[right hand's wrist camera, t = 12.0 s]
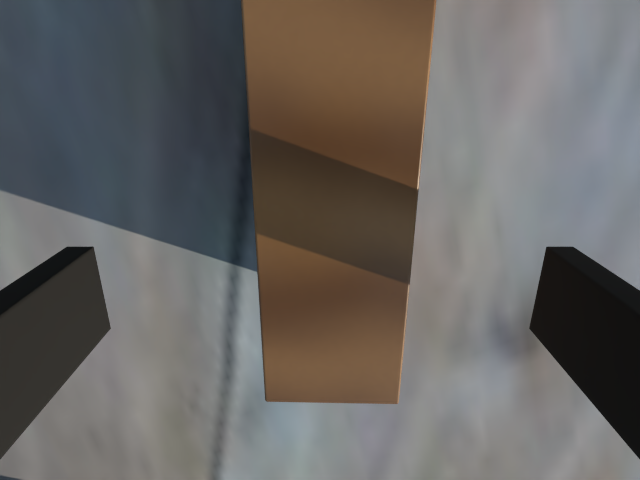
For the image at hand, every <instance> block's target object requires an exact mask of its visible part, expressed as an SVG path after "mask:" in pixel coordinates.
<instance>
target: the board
mask: <svg viewBox="0 0 640 480" xmlns="http://www.w3.org/2000/svg"><path fill="white" fill-rule="evenodd" d="M241 8H242V25H243V41H244V58H245V74H246V91H247V107H248V123H249V140H250V156H251V173H252V189H253V206H254V222H255V239H256V255H257V272H258V288H259V305H260V321H261V337H262V354H263V370H264V387H265V400H266V401H267V402H318V403H373V404H398V402H399V392H400V382H401V371H402V360H403V350H404V339H405V328H406V318H407V307H408V297H409V286H410V275H411V265H412V254H413V243H414V233H415V222H416V211H417V201H418V190H419V179H420V169H421V158H422V147H423V137H424V126H425V115H426V105H427V94H428V83H429V73H430V62H431V51H432V41H433V30H434V19H435V9H436V0H241Z"/></svg>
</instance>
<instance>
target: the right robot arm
mask: <svg viewBox="0 0 640 480" xmlns="http://www.w3.org/2000/svg"><path fill="white" fill-rule="evenodd" d="M110 329H111V328H110V323H109V318H108V314H107V309H106V304H105V299H104V295H103V290H102V285H101V280H100V276H99V271H98V266H97V261H96V257H95V252H94V247H66V248H64V249H63V250H61V251H60V252H58V253H57V254H55V255H54V256H52V257H51V258H49V259H48V260H46V261H45V262H43V263H42V264H40V265H39V266H37V267H36V268H34V269H33V270H31V271H29V272H28V273H26V274H25V275H23V276H22V277H20V278H19V279H17V280H16V281H14V282H13V283H11V284H10V285H8V286H7V287H5V288H4V289H2V290H1V291H0V459H1V458H2V457H3V455H4V454H5V453H6V452H7V451H8V449H9V448H10V447H11V446H12V445H13V444H14V442H15V441H16V440H17V439H18V438H19V436H20V435H21V434H22V433H23V432H24V430H25V429H26V428H27V427H28V426H29V425H30V423H31V422H32V421H33V420H34V419H35V417H36V416H37V415H38V414H39V413H40V412H41V410H42V409H43V408H44V407H45V406H46V404H47V403H48V402H49V401H50V400H51V398H52V397H53V396H54V395H55V394H56V393H57V391H58V390H59V389H60V388H61V387H62V385H63V384H64V383H65V382H66V381H67V380H68V378H69V377H70V376H71V375H72V374H73V372H74V371H75V370H76V369H77V368H78V366H79V365H80V364H81V363H82V362H83V361H84V359H85V358H86V357H87V356H88V355H89V353H90V352H91V351H92V350H93V349H94V348H95V346H96V345H97V344H98V343H99V342H100V340H101V339H102V338H103V337H104V336H105V334H106V333H107V332H108V331H109V330H110ZM529 329H530V330H531V331H532V332H533V333H534V334H535V336H536V337H537V338H538V339H539V340H540V342H541V343H542V344H543V345H544V346H545V348H546V349H547V350H548V351H549V352H550V353H551V355H552V356H553V357H554V358H555V359H556V361H557V362H558V363H559V364H560V365H561V366H562V368H563V369H564V370H565V371H566V372H567V374H568V375H569V376H570V377H571V378H572V380H573V381H574V382H575V383H576V384H577V385H578V387H579V388H580V389H581V390H582V391H583V393H584V394H585V395H586V396H587V397H588V398H589V400H590V401H591V402H592V403H593V404H594V406H595V407H596V408H597V409H598V410H599V412H600V413H601V414H602V415H603V416H604V417H605V419H606V420H607V421H608V422H609V423H610V425H611V426H612V427H613V428H614V429H615V430H616V432H617V433H618V434H619V435H620V436H621V438H622V439H623V440H624V441H625V442H626V444H627V445H628V446H629V447H630V448H631V449H632V451H633V452H634V453H635V454H636V455H637V457H638V458H639V459H640V291H639V290H638V289H636V288H635V287H633V286H632V285H630V284H629V283H627V282H626V281H624V280H623V279H621V278H620V277H618V276H617V275H615V274H614V273H612V272H611V271H609V270H607V269H606V268H604V267H603V266H601V265H600V264H598V263H597V262H595V261H594V260H592V259H591V258H589V257H588V256H586V255H585V254H583V253H582V252H580V251H579V250H577V249H576V248H574V247H546V252H545V256H544V261H543V266H542V271H541V276H540V280H539V285H538V290H537V295H536V299H535V304H534V309H533V314H532V318H531V323H530V328H529Z"/></svg>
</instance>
